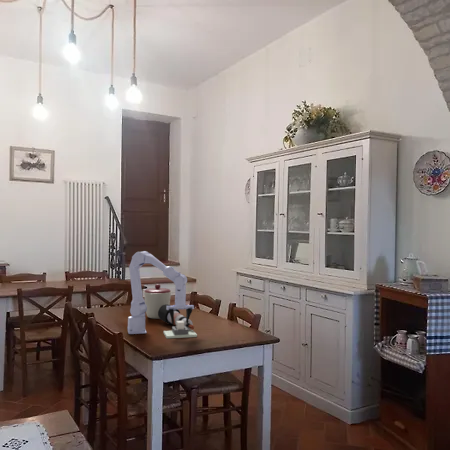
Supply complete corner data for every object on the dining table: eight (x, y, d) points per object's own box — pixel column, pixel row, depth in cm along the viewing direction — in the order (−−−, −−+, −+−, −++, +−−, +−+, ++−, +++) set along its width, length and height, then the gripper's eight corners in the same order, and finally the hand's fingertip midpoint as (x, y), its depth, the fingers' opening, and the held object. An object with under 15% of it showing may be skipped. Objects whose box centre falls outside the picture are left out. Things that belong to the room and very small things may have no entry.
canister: (174, 315, 308) (174, 282, 308) (168, 320, 290) (168, 286, 290) (147, 314, 310) (147, 282, 310) (139, 319, 292) (139, 285, 292)
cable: (188, 340, 256) (181, 325, 253) (161, 323, 285) (155, 309, 281) (203, 330, 261) (196, 315, 258) (175, 314, 289) (169, 301, 286)
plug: (177, 334, 250) (177, 322, 250) (176, 331, 255) (176, 320, 255) (184, 333, 251) (184, 322, 251) (182, 331, 256) (182, 320, 256)
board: (166, 338, 246) (166, 331, 246) (163, 333, 257) (163, 326, 257) (196, 336, 250) (197, 329, 250) (192, 331, 261) (192, 325, 261)
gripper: (167, 299, 248) (167, 325, 248) (195, 298, 251) (194, 323, 251) (166, 296, 254) (165, 322, 254) (192, 296, 258) (192, 321, 258)
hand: (180, 322), depth 253 cm, fingers open, 7 cm apart
